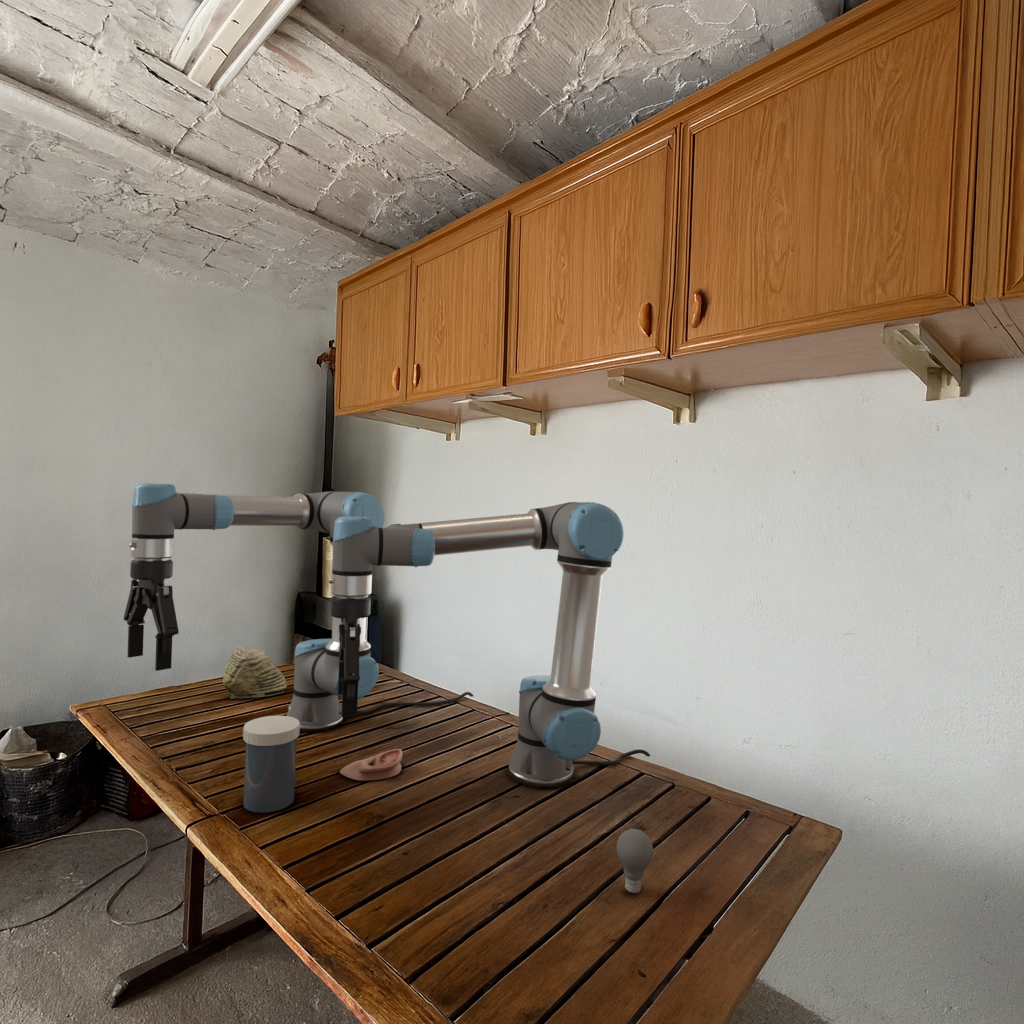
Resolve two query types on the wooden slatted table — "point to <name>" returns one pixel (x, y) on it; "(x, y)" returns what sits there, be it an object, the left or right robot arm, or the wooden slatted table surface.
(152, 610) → the left robot arm
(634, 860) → the light bulb
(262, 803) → the jar
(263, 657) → the fossil
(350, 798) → the wooden slatted table surface
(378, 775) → the anatomical model
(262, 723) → the lid
